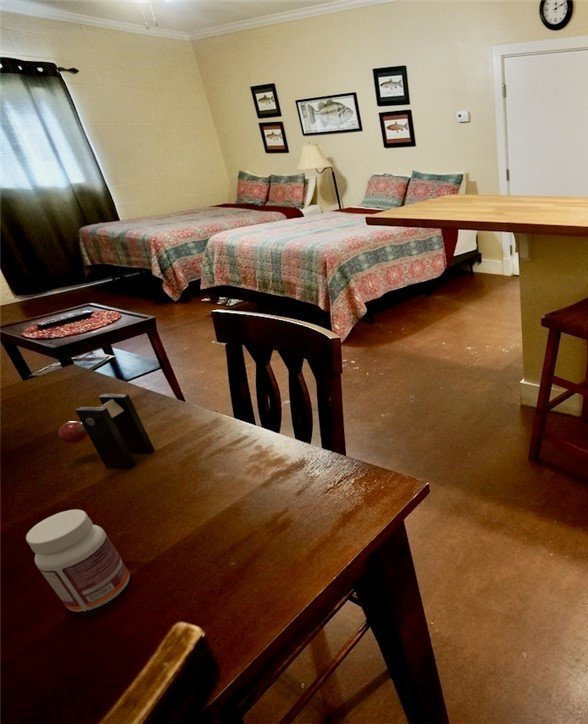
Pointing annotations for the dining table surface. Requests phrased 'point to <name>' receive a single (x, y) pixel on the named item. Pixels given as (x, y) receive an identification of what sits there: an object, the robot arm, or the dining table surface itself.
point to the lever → (76, 430)
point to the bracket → (116, 432)
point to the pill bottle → (77, 560)
